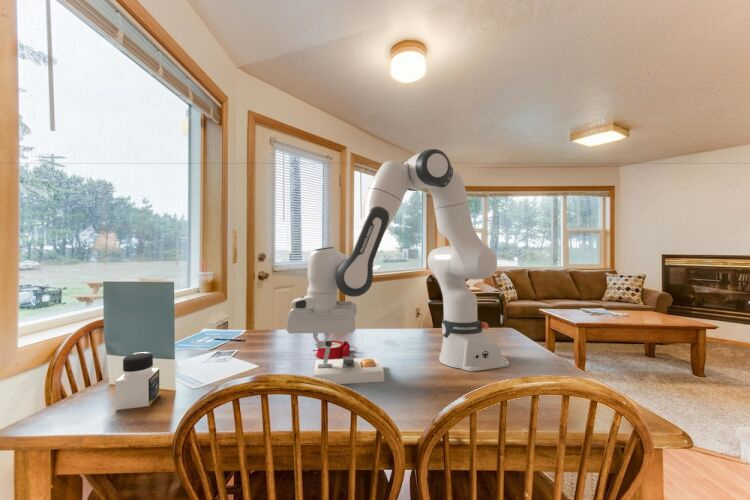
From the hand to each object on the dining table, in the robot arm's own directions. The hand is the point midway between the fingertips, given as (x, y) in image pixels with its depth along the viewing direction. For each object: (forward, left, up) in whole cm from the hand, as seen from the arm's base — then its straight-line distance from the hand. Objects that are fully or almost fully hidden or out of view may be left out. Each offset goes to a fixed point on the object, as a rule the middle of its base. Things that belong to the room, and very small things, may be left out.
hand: (321, 347), depth 96 cm
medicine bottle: (+45, +10, -9) cm, 47 cm away
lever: (-1, 0, -5) cm, 5 cm away
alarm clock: (-4, -20, -9) cm, 22 cm away
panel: (-8, 0, -9) cm, 12 cm away
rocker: (-8, 0, -4) cm, 9 cm away
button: (-14, 0, -8) cm, 16 cm away
